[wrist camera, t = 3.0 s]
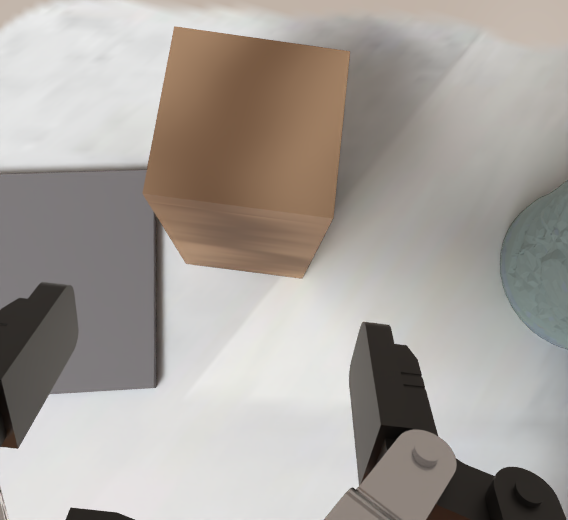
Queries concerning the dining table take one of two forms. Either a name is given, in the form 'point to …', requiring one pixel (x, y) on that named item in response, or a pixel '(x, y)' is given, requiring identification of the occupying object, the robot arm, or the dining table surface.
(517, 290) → the embossed blue-grey cup
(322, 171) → the brown wooden block
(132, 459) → the dining table surface
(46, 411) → the dining table surface
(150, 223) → the charcoal mat
